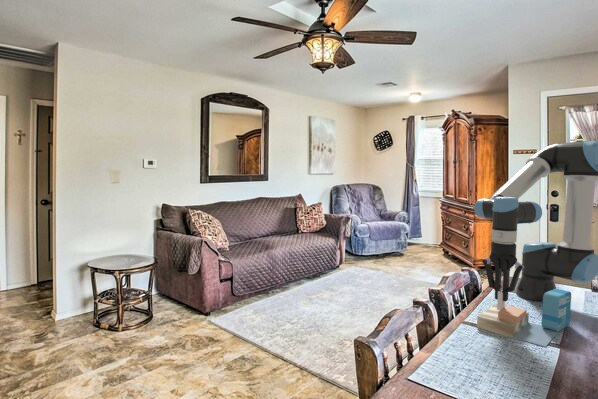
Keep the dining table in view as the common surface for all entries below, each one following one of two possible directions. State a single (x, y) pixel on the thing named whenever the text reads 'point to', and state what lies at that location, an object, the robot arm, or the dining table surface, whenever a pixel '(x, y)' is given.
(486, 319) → the plate
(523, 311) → the salmon orange flat block
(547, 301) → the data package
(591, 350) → the dining table surface
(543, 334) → the mat
